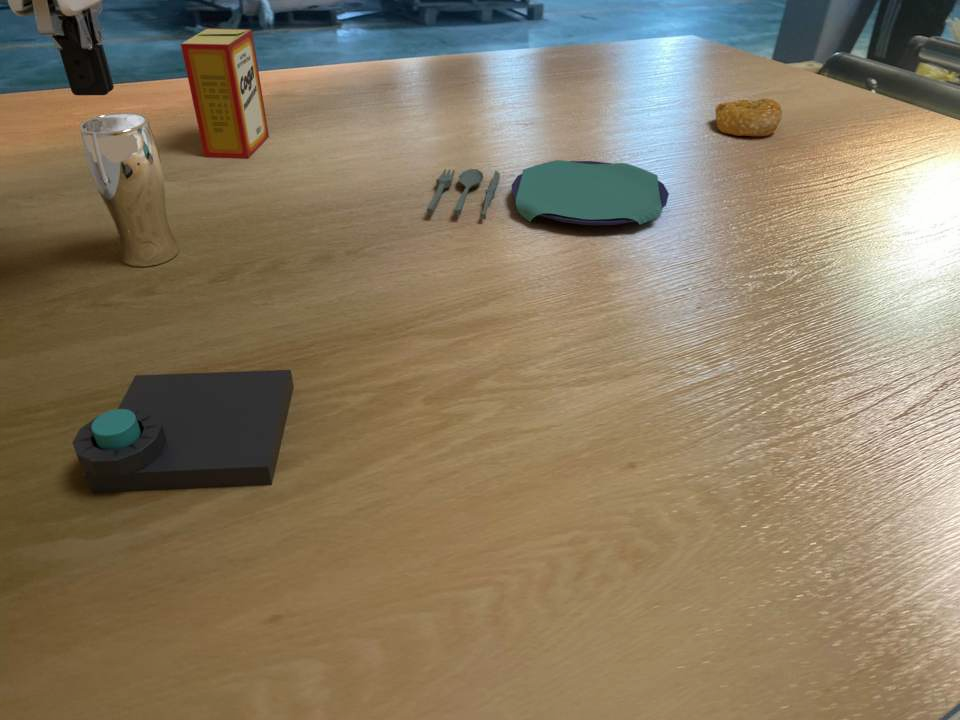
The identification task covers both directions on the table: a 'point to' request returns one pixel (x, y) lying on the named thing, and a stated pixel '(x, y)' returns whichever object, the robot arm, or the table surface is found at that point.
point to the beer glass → (130, 185)
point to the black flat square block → (194, 432)
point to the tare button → (115, 429)
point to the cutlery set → (573, 192)
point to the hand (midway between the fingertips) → (93, 92)
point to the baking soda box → (226, 92)
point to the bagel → (748, 117)
